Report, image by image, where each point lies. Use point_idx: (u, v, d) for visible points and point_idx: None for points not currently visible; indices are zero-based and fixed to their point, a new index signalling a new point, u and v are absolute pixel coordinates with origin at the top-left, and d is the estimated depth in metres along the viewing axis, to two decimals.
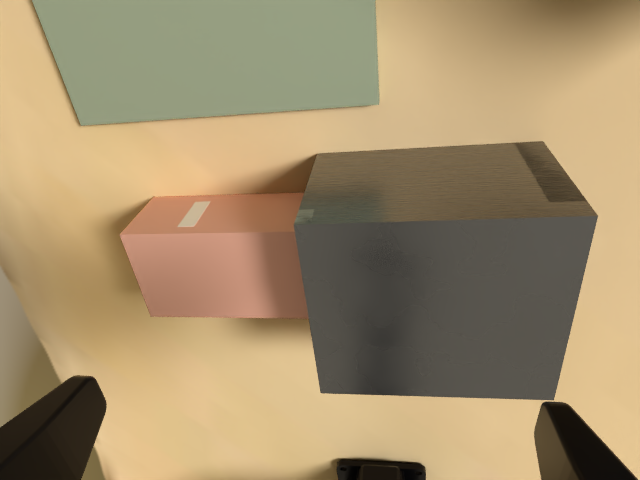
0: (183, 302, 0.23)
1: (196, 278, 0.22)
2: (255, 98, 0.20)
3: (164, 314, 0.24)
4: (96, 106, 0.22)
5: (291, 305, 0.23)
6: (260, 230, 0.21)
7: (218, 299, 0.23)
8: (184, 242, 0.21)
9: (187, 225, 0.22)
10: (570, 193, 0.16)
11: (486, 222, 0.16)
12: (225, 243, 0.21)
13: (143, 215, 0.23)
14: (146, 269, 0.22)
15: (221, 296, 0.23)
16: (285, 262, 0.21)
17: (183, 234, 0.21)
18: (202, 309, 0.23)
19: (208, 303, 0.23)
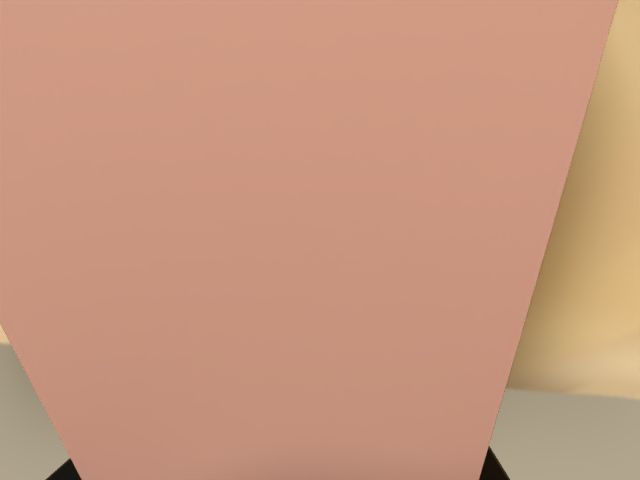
0: None
1: None
2: None
3: None
4: None
5: (430, 260, 0.04)
6: (4, 299, 0.05)
7: None
8: None
9: None
10: None
11: None
12: (93, 421, 0.05)
13: None
14: None
15: None
16: (126, 240, 0.04)
17: None
18: None
19: None
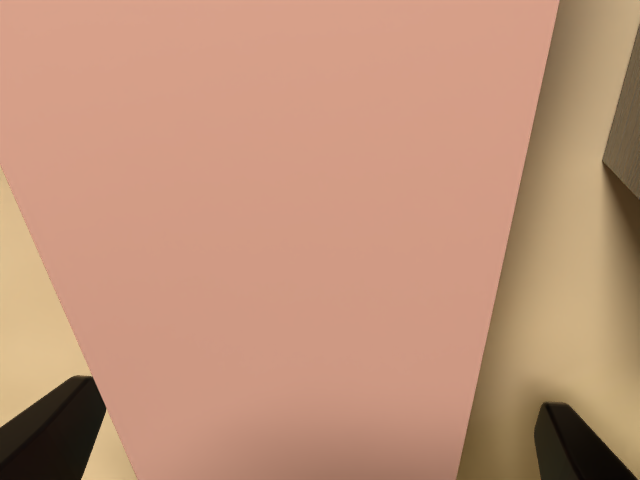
0: None
1: (286, 472, 0.07)
2: None
3: None
4: None
5: (420, 223, 0.04)
6: (57, 269, 0.06)
7: (373, 447, 0.06)
8: (157, 461, 0.07)
9: None
10: None
11: None
12: (132, 378, 0.06)
13: None
14: None
15: (360, 438, 0.06)
16: (167, 212, 0.05)
17: (131, 456, 0.07)
18: None
19: (388, 471, 0.07)
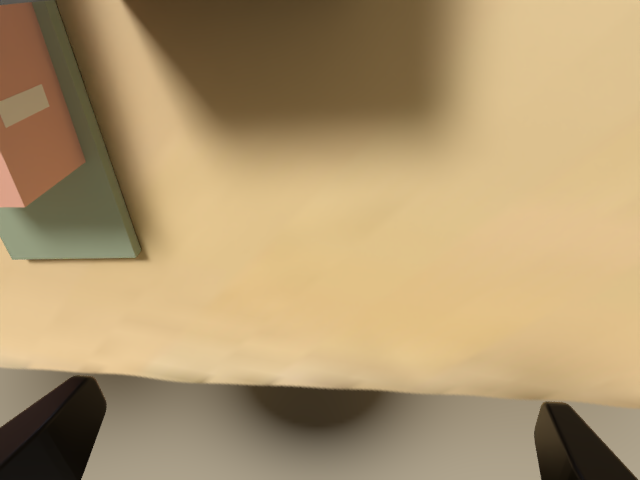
0: None
1: None
2: None
3: (11, 185, 0.16)
4: (111, 237, 0.21)
5: None
6: None
7: None
8: None
9: None
10: None
11: None
12: None
13: None
14: None
15: None
16: None
17: None
18: None
19: None
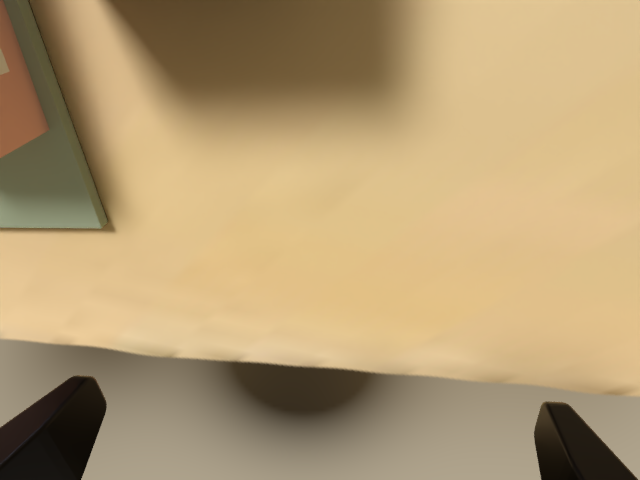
0: None
1: None
2: None
3: None
4: (77, 206, 0.22)
5: None
6: None
7: None
8: None
9: None
10: None
11: None
12: None
13: None
14: None
15: None
16: None
17: None
18: None
19: None
